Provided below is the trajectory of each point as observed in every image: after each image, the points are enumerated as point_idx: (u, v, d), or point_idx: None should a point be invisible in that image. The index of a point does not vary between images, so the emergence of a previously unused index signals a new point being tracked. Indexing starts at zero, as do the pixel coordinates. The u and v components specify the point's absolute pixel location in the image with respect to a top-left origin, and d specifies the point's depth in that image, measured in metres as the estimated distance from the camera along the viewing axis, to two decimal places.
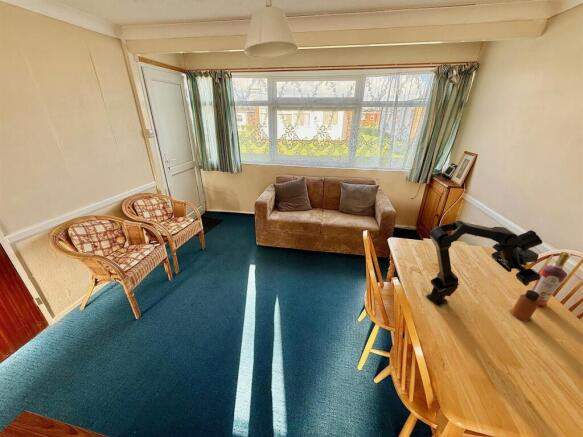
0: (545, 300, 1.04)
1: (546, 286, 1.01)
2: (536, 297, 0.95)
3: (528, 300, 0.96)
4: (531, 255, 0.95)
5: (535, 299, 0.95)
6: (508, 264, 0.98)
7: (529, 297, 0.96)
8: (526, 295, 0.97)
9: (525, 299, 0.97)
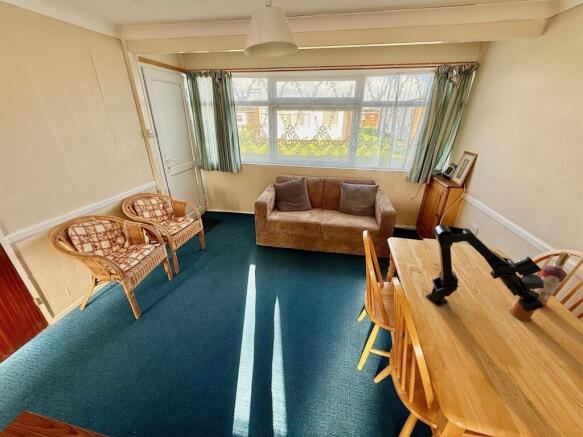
0: (545, 300, 1.04)
1: (546, 286, 1.01)
2: None
3: None
4: (535, 281, 0.92)
5: None
6: (511, 290, 0.97)
7: None
8: (526, 295, 0.97)
9: None
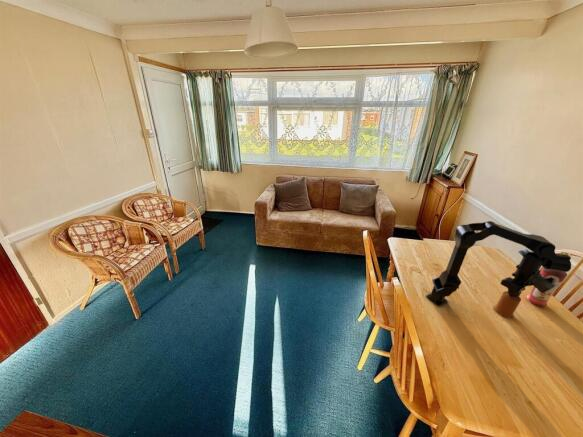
0: (545, 300, 1.04)
1: None
2: (518, 294, 0.96)
3: (510, 297, 0.98)
4: (543, 283, 0.88)
5: (517, 296, 0.97)
6: (515, 271, 0.95)
7: None
8: None
9: (507, 296, 0.99)
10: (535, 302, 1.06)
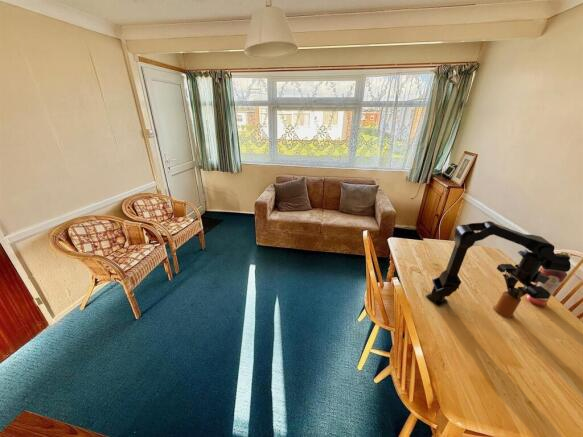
0: (545, 300, 1.04)
1: (546, 286, 1.01)
2: None
3: (510, 297, 0.98)
4: (544, 276, 0.92)
5: None
6: (521, 276, 0.93)
7: None
8: (513, 295, 0.97)
9: (507, 296, 0.99)
10: (535, 302, 1.06)
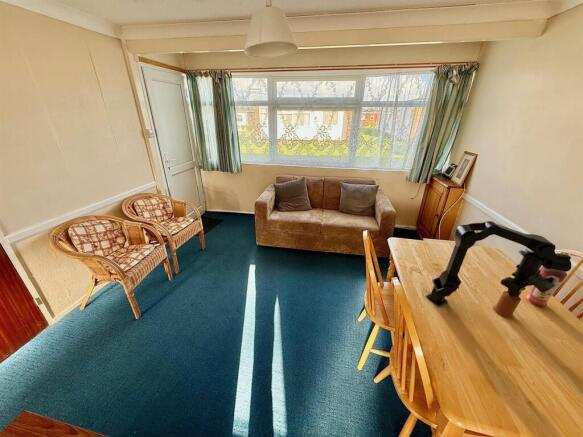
0: (545, 300, 1.04)
1: None
2: None
3: (510, 296, 0.98)
4: (543, 283, 0.88)
5: None
6: (515, 271, 0.95)
7: None
8: (518, 295, 0.97)
9: (507, 295, 0.99)
10: (535, 302, 1.06)
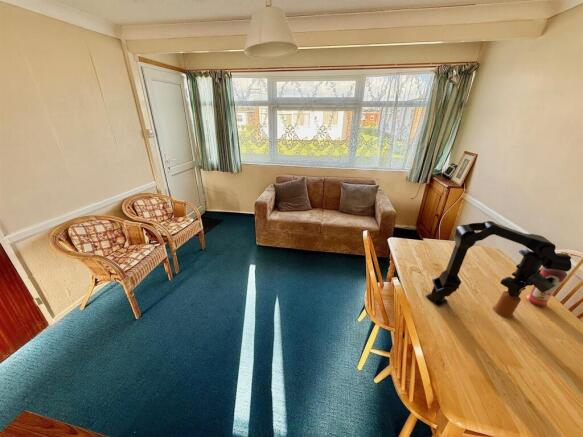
0: (545, 300, 1.04)
1: None
2: None
3: (510, 296, 0.98)
4: (543, 283, 0.88)
5: None
6: (516, 271, 0.95)
7: None
8: None
9: (507, 295, 0.99)
10: (535, 302, 1.06)
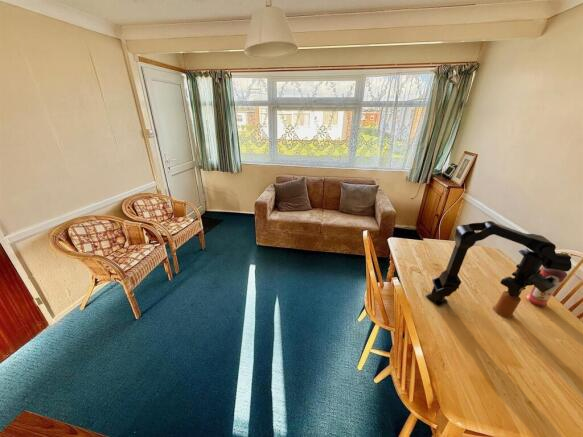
0: (545, 300, 1.04)
1: None
2: None
3: (510, 296, 0.98)
4: (543, 283, 0.88)
5: (508, 291, 0.99)
6: (516, 271, 0.95)
7: None
8: None
9: (507, 295, 0.99)
10: (535, 302, 1.06)
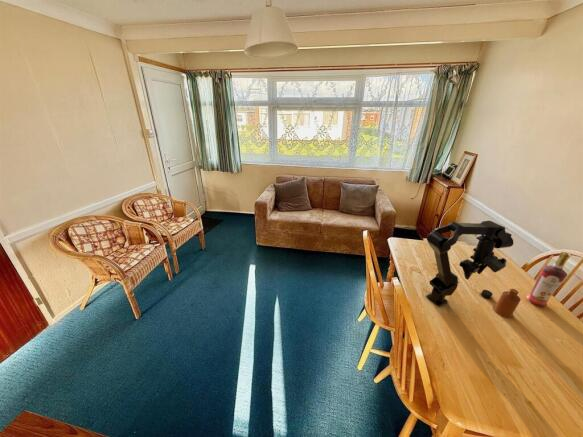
0: (545, 300, 1.04)
1: (546, 286, 1.01)
2: (486, 295, 1.10)
3: (510, 297, 0.98)
4: (495, 263, 0.97)
5: (485, 296, 1.11)
6: (473, 254, 1.04)
7: (481, 294, 1.12)
8: (482, 292, 1.13)
9: (507, 296, 0.99)
10: (535, 302, 1.06)
